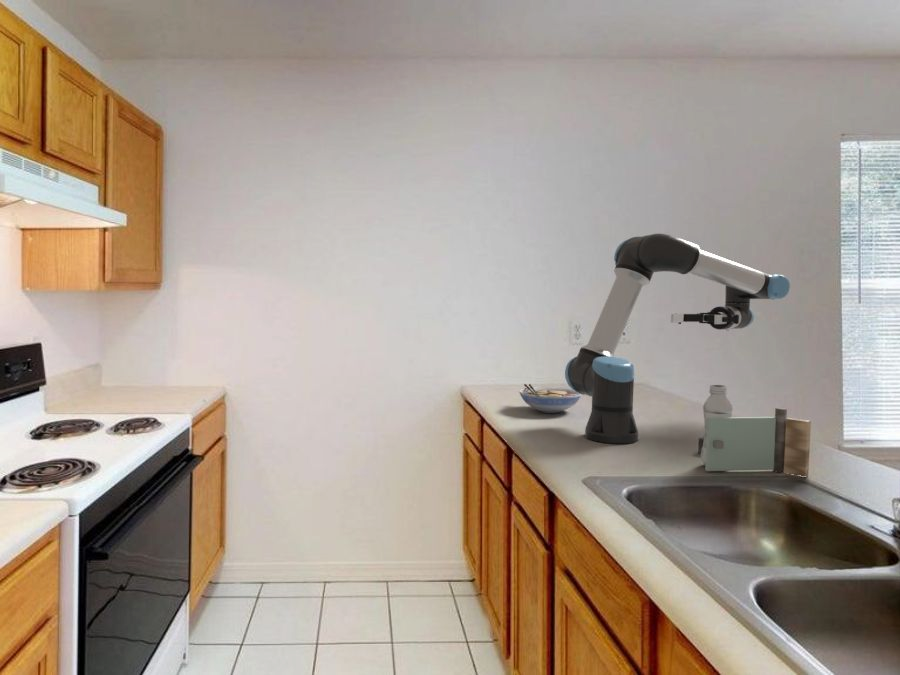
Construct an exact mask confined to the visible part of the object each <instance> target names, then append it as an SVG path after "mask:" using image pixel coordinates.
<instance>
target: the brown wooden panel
mask: <svg viewBox="0 0 900 675" xmlns="http://www.w3.org/2000/svg"><path fill="white" fill-rule="evenodd" d="M774 417H775V418H776V425H775V448H774V471H773V472H775V471H777V472H776V473H780V472H783V474H785V473H788V474H787V475H789V474H794V475H801V476H808V477H809V470H810V469H809V468H810V446H811V445H810V444H811V443H810V442H811V430H812V429H811V428H812V426H811V424H812V420H808V419H800V418H794V417H788V409H787V408H784V407H775V411H774ZM703 441H704V436H701V437H699V438H698V446H697V449H698V450H697V451H698V452H697V454H700V455H701V450H702V447H703ZM794 475H793V476H794Z"/></svg>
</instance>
